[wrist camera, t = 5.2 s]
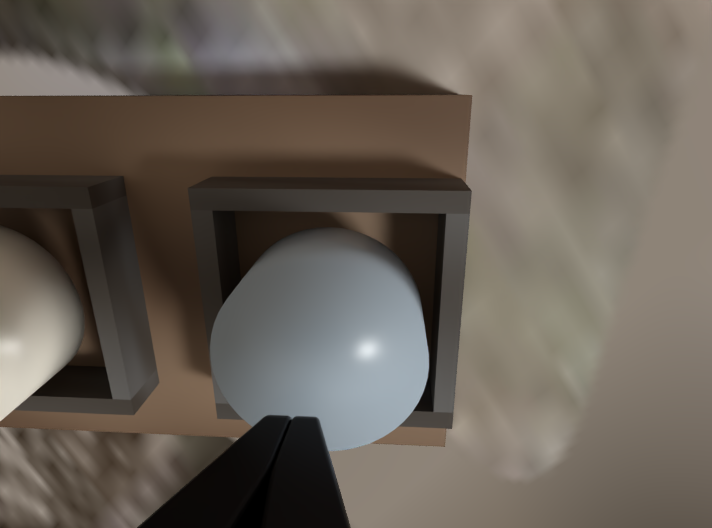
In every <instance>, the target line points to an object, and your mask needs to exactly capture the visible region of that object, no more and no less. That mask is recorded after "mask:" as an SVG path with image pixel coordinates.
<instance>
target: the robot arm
mask: <svg viewBox="0 0 712 528" xmlns="http://www.w3.org/2000/svg"><path fill="white" fill-rule="evenodd" d="M137 528H351V527H350V524H349V520H348V517H347V513H346V510H345V506H344V503H343V499H342V496H341V492H340V489H339V486H338V482H337V479H336V475H335V472H334V468H333V465H332V461H331V458H330V454H329V451H328V447H327V444H326V441H325V437H324V434H323V430H322V427H321V423H320V420H319V419H318V418H317V417H314V416H295V417H294V418H293V419H292V418H291V417H290V416H288V415H267V416H265V417H263V418H262V419H261V420H260V421H259V422H257V423H256V424H255V425H254V426H253V427H252V428H251V429H249V430H248V431H247V432H246V433H245V434H244V435H243V436H241V437H240V438H239V439H238V440H237V441H236V442H234V443H233V444H232V445H231V446H230V447H229V448H228V449H226V450H225V451H224V452H223V453H222V454H221V455H220V456H218V457H217V458H216V459H215V460H214V461H213V462H212V463H210V464H209V465H208V466H207V467H206V468H205V469H204V470H202V471H201V472H200V473H199V474H198V475H197V476H196V477H194V478H193V479H192V480H191V481H190V482H189V483H188V484H186V485H185V486H184V487H183V488H182V489H181V490H180V491H178V492H177V493H176V494H175V495H174V496H173V497H171V498H170V499H169V500H168V501H167V502H166V503H165V504H163V505H162V506H161V507H160V508H159V509H158V510H157V511H155V512H154V513H153V514H152V515H151V516H150V517H149V518H147V519H146V520H145V521H144V522H143V523H142V524H141V525H139V526H138V527H137Z"/></svg>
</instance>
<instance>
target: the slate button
mask: <svg viewBox="0 0 712 528" xmlns="http://www.w3.org/2000/svg"><path fill="white" fill-rule="evenodd" d="M210 357H211V364H212V369H213V373H214V376H215V379H216V381H217V384H218V386H219V388H220V390H221V392H222V394H223V396H224V397H225V398H226V400H227V401H228V403H229V404H230V406H231V407H232V408H233V409H234V410H235V411H236V413H237V414H238V415H239V416H240V417H241V418H243V419H244V420H245V421H246V422H247V423H248V424H249V425H251V426H252V427H253V426H254V425H255V424H256V423H257V422H259V421H260V420H261V419H262V418H263V417H265V416H267V415H288V416H290V417H291V418H292V419H293V418H294V417H295V416H314V417H317V418H318V419H319V420H320V423H321V427H322V430H323V434H324V437H325V441H326V444H327V447H328V451H339V450H348V449H352V448H356V447H360V446H363V445H366V444H369V443H372V442H374V441H376V440H378V439H380V438H382V437H384V436H386V435H387V434H389V433H390V432H392V431H393V430H395V429H396V428H397V427H398V426H399V425H401V424H402V423H403V422H404V421H405V420H406V419H407V417H408V416H409V415H410V414H411V413H412V412H413V410H414V409H415V407H416V406H417V404H418V402H419V400H420V398H421V396H422V394H423V392H424V389H425V385H426V382H427V378H428V371H429V353H428V346H427V339H426V332H425V325H424V319H423V312H422V305H421V299H420V294H419V291H418V288H417V285H416V283H415V280H414V278H413V276H412V274H411V273H410V271H409V270H408V268H407V267H406V265H405V264H404V263H403V262H402V260H401V259H400V258H399V257H398V256H397V255H396V254H395V253H394V252H393V251H391V250H390V249H389V248H388V247H387V246H385V245H384V244H382V243H381V242H379V241H377V240H376V239H374V238H372V237H369V236H367V235H365V234H362V233H359V232H356V231H353V230H348V229H344V228H334V227H320V228H312V229H306V230H302V231H299V232H296V233H293V234H291V235H289V236H286V237H284V238H282V239H281V240H279V241H278V242H276V243H275V244H273V245H272V246H271V247H269V248H268V249H267V250H266V251H265V252H264V253H263V254H262V255H261V256H260V257H259V259H258V260H257V261H256V262H255V264H254V265H253V266H252V267H251V269H250V270H249V271H248V273H247V274H246V275H245V276H244V278H243V279H242V280H241V281H240V283H239V284H238V285H237V287H236V288H235V289H234V290H233V292H232V293H231V294H230V296H229V297H228V298H227V299H226V301H225V303H224V304H223V306H222V307H221V309H220V311H219V313H218V315H217V317H216V320H215V322H214V326H213V330H212V334H211V342H210Z"/></svg>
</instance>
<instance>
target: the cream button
mask: <svg viewBox="0 0 712 528" xmlns="http://www.w3.org/2000/svg"><path fill="white" fill-rule="evenodd" d="M84 329H85V317H84V311H83V306H82V302H81V299H80V296H79V294H78V291H77V289H76V287H75V285H74V283H73V282H72V280H71V278H70V276H69V275H68V274H67V272H66V271H65V270H64V268H63V267H62V266H61V265H60V263H59V262H58V261H57V260H56V259H55V258H54V257H53V256H52V255H51V254H50V253H49V252H48V251H46V250H45V249H44V248H43V247H42V246H40V245H39V244H37V243H36V242H35V241H33V240H32V239H30V238H28V237H26V236H25V235H23V234H21V233H19V232H17V231H14V230H12V229H9V228H6V227H3V226H0V421H1V420H2V419H4V418H5V417H6V416H7V415H8V414H9V413H11V412H12V411H13V410H14V409H15V408H16V407H18V406H19V405H20V404H21V403H22V402H24V401H25V400H26V399H27V398H28V397H29V396H31V395H32V394H33V393H34V392H35V391H36V390H38V389H39V388H40V387H41V386H42V385H44V384H45V383H46V382H47V381H48V380H49V379H51V378H52V377H53V376H54V375H55V374H56V373H58V372H59V371H60V370H61V369H62V368H64V367H65V366H66V365H67V364H68V363H69V362H70V361H71V360H72V359H73V358H74V356H75V355H76V354H77V352H78V350H79V348H80V346H81V343H82V340H83V336H84Z"/></svg>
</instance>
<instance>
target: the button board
mask: <svg viewBox="0 0 712 528" xmlns="http://www.w3.org/2000/svg"><path fill="white" fill-rule="evenodd" d="M471 104H472V95H155V96H0V226H3V227H6V228H9V229H12V230H14V231H17V232H19V233H21V234H23V235H25V236H26V237H28V238H30V239H32V240H33V241H35V242H36V243H37V244H39V245H40V246H42V247H43V248H44V249H45V250H46V251H48V252H49V253H50V254H51V255H52V256H53V257H54V258H55V259H56V260H57V261H58V262H59V263H60V265H61V266H62V267H63V268H64V270H65V271H66V272H67V274H68V275H69V276H70V278H71V280H72V282H73V283H74V285H75V287H76V289H77V291H78V294H79V296H80V299H81V302H82V306H83V311H84V317H85V329H84V336H83V340H82V343H81V346H80V348H79V350H78V352H77V354H76V355H75V356H74V358H73V359H72V360H71V361H70V362H69V363H68V364H67V365H66V366H65V367H64V368H62V369H61V370H60V371H59V372H58V373H56V374H55V375H54V376H53V377H52V378H51V379H49V380H48V381H47V382H46V383H45V384H44V385H42V386H41V387H40V388H39V389H38V390H36V391H35V392H34V393H33V394H32V395H31V396H29V397H28V398H27V399H26V400H25V401H24V402H22V403H21V404H20V405H19V406H18V407H16V408H15V409H14V410H13V411H12V412H11V413H9V414H8V415H7V416H6V417H5V418H4V419H2V420H1V421H0V427H15V428H38V429H60V430H82V431H105V432H127V433H150V434H172V435H194V436H217V437H239V438H240V437H241V436H243V435H244V434H245V433H246V432H247V431H248V430H249V429H251V428H252V426H251V425H249V424H248V423H247V422H246V421H245V420H244V419H243V418H241V417H240V416H239V415H238V414H237V413H236V411H235V410H234V409H233V408H232V407H231V406H230V404H229V403H228V401H227V400H226V398H225V397H224V396H223V394H222V392H221V390H220V388H219V386H218V384H217V381H216V379H215V376H214V373H213V369H212V364H211V357H210V342H211V334H212V330H213V326H214V322H215V320H216V317H217V315H218V313H219V311H220V309H221V307H222V306H223V304H224V303H225V301H226V299H227V298H228V297H229V296H230V294H231V293H232V292H233V290H234V289H235V288H236V287H237V285H238V284H239V283H240V281H241V280H242V279H243V278H244V276H245V275H246V274H247V273H248V271H249V270H250V269H251V267H252V266H253V265H254V264H255V262H256V261H257V260H258V259H259V257H260V256H261V255H262V254H263V253H264V252H265V251H266V250H267V249H268V248H269V247H271V246H272V245H273V244H275V243H276V242H278V241H279V240H281V239H282V238H284V237H286V236H289V235H291V234H293V233H296V232H299V231H302V230H306V229H312V228H320V227H334V228H344V229H348V230H353V231H356V232H359V233H362V234H365V235H367V236H369V237H372V238H374V239H376V240H377V241H379V242H381V243H382V244H384V245H385V246H387V247H388V248H389V249H390V250H391V251H393V252H394V253H395V254H396V255H397V256H398V257H399V258H400V259H401V260H402V262H403V263H404V264H405V265H406V267H407V268H408V270H409V271H410V273H411V274H412V276H413V278H414V280H415V283H416V285H417V288H418V291H419V294H420V299H421V305H422V312H423V319H424V325H425V332H426V339H427V346H428V353H429V371H428V378H427V382H426V385H425V389H424V392H423V394H422V396H421V398H420V400H419V402H418V404H417V406H416V407H415V409H414V410H413V412H412V413H411V414H410V415H409V416H408V417H407V419H406V420H405V421H404V422H403V423H402V424H401V425H399V426H398V427H397V428H396V429H395V430H393V431H392V432H390V433H389V434H387V435H386V436H384V437H382V438H380V439H378V440H376V441H374V442H372V443H374V444H396V445H419V446H441V447H445V439H446V429H452V422H453V410H454V398H455V386H456V374H457V362H458V350H459V338H460V325H461V313H462V301H463V289H464V277H465V265H466V253H467V241H468V229H469V217H470V205H471V192H472V191H471V190H470V188H469V187H468V186H467V185H466V183H465V181H466V168H467V155H468V143H469V130H470V117H471Z"/></svg>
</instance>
